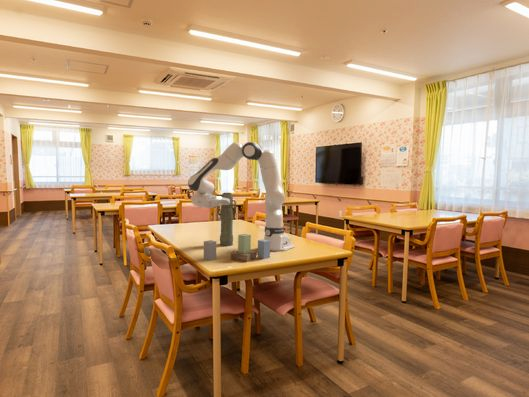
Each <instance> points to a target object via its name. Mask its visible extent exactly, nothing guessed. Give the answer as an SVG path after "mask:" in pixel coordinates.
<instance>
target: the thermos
mask: <svg viewBox="0 0 529 397" xmlns="http://www.w3.org/2000/svg"><path fill="white" fill-rule="evenodd" d="M221 197H224V198H228V199H230V204H229V205H221V206H217V215H218V216H219V218H220V235H219V245H220V246H222V247H231V246H233V245H234V234H233V231H234V230H233V228H234V226H233V225H234V222H233V220H234V216H236V213H237V212H236V210H237V209H236V208H237V202H236V200H235V199H234V197H233V194H232V193H231V192H223V193H222V195H221ZM233 205H234V206H233ZM220 207H221V208H220Z"/></svg>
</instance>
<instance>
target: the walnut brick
mask: <svg viewBox="0 0 529 397" xmlns="http://www.w3.org/2000/svg"><path fill="white" fill-rule="evenodd" d="M256 258H257V251H256V250H250V253H245V254H243V253H239V252H238V250H236V251H234V252H232V253H230V260H231V261H238V262H244V263H247V262H250V261H252V260H254V259H256Z"/></svg>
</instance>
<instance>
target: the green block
mask: <svg viewBox="0 0 529 397" xmlns="http://www.w3.org/2000/svg"><path fill="white" fill-rule="evenodd" d="M237 236H238V237H237V251H238V252H239V253H243V254H245V253H250V251H251V247H252V246H251V245H252V244H251V243H252V242H251V241H252V235H251V234H247V233H243V234H242V233H241V234H240V233H239V234H238V235H237Z"/></svg>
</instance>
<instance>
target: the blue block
mask: <svg viewBox="0 0 529 397" xmlns="http://www.w3.org/2000/svg"><path fill="white" fill-rule="evenodd" d="M257 258H258V259H262V260H266V259H269V258H271V250H270V240H265V239H264V238H263V239H259V240H257Z"/></svg>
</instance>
